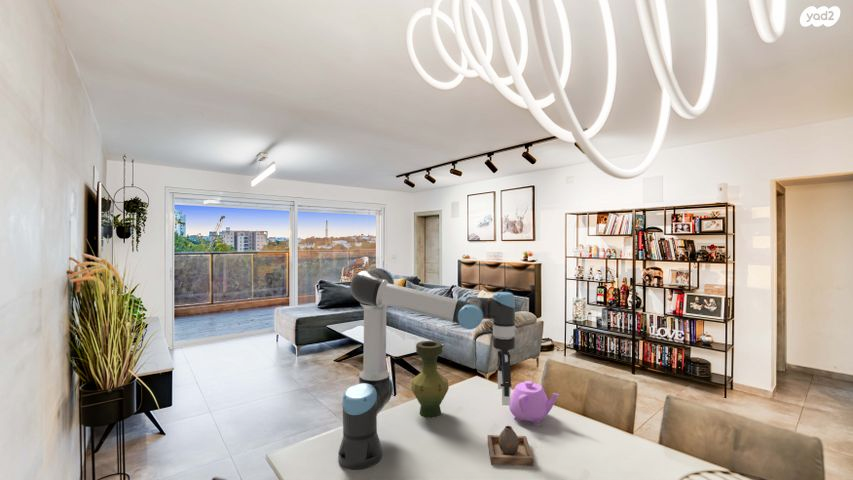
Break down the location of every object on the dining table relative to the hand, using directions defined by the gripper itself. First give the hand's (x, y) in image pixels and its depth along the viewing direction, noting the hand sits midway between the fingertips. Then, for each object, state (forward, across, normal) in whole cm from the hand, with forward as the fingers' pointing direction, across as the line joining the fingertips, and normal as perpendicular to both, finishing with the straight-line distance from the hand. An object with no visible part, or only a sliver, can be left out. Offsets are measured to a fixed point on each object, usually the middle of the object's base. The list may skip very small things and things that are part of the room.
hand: (503, 396), depth 133 cm
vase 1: (+20, +28, +28) cm, 45 cm away
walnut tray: (+20, -1, -2) cm, 20 cm away
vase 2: (+19, -1, -2) cm, 19 cm away
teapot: (+20, +24, -15) cm, 35 cm away
